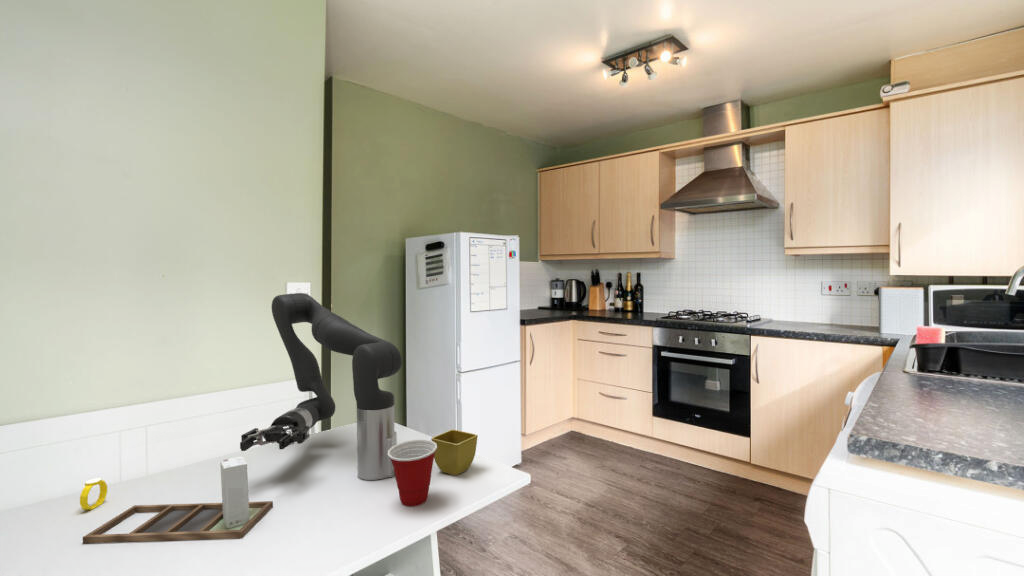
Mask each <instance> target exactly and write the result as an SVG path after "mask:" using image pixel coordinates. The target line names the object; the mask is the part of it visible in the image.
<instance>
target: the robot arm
mask: <svg viewBox="0 0 1024 576" xmlns="http://www.w3.org/2000/svg"><path fill="white" fill-rule="evenodd" d="M271 313H272V317H273V320H274V322H275V326H276V328H277V330H278V333H279V336H280V338H281V340H282V342H283V345H284V347H285V350H286V352H287V354H288V358H289V359H290V363H291V367H292V369H293V370H292V371H293V374H294V379H295V382H296V386H297V389H298V391H299V392H302V393H306V392H312V393H314V394H315V396H316V397H312V398H309V399H306V400H303V401H301V402H299V403H298V404H297V405H296V407H295V408H294V409H290V410H288V411H286V412H285V413H282V414H281V415H280V416H278V417H276V418H275V419H274V420H273V421H272V423H271V424H270V426H268V428H263V429H259V428H257V427H255V428H253V429H251V430H249V431H247V432H245V433H243V434H242V435H241V436H240V437H241V441H240V442H239V449H240V451H241V452H245V451H248V450H249V449H251V448H252V447H253V446H254V447H255V446H258V445H259V446H265V445H268V444H274V443H275V444H276V443H277V444H278V449H279V450H284V449H285V448H287V447H289V446H292V445H294V444H295V443H297V444H303V443H304V442H305V441H307V439H309V438H310V430H311V429H312V428H313V427H314V426H315V425H316V424H317V423H318V422H321V421H324V420H327V419H330V418H332V417H333V416H334V415H335V412H336V403H335V400H334V399H333V396H332V395H331V393H330V392H329V390H328V389H327V386H326V384H325V383H324V381H323V378H322V377H323V376H322V374H321V373H322V372H321V370H320V367H319V363H318V359H317V357H316V356H315V354H314V353H313V352H312V350H310V348H308V346H306V345H305V343H303V342H302V341H301V339H300V338H299V336H298V335H297V334H296V332H295V330H294V327H293V325H294V324H300V323H308V324H310V325H311V335H312V337H313V339H314V340H315V342H317V343H318V344H320V345H322V346H323V347H324V348H326V349H328V350H330V351H331V352H335V353H338V354H342V355H347V356H352V359H351V360H352V362H351V365H352V366H351V368H352V383H353V393H354V398H355V402H356V403H355V404H356V455H357V457H356V459H357V464H356V465H357V466H356V467H357V477H358V479H361V480H367V481H374V480H382V479H386V478H392V477H394V475H395V472H394V467H393V464H392V462H391V459H390V457H388V450H389V449H390V448H391V447H393V446H395V445H397V444H398V442H397V440H398V437H397V435H398V434H397V431H395V396H394V393H392V392H391V391H387V390H382V389H380V387H379V379H384V378H389V377H392V376H394V375H396V374H397V373H398V372H399V371H400V369H401V367H402V364H403V359H402V355H401V352H400V350H399V349H398V348H397V346H396V345H395V344H393V343H392V342H390V341H388V340H385V339H383V338H381V337H380V338H379V337H378V336H375V335H373V334H372V333H371V334H370V333H368V332H367V331H365V330H364V329H362V328H360V327H358V326H356V325H355V324H353V323H351V321H350V322H349V321H348V320H347V319H345V318H344V317H342V316H340V315H338V314H336V313H335V312H333V311H331V310H329V309H328V308H326V307H324V306H323V305H322V304H321V303H320V302H318V301H317V300H316V299H315V298H313V297H312V296H311V295H309V294H307V293H305V292H297V293H287V294H286V293H285V294H278V295H276V296H275V297H274V298H273V299H272V301H271ZM263 439H264V440H263Z"/></svg>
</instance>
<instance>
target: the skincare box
mask: <svg viewBox="0 0 1024 576" xmlns="http://www.w3.org/2000/svg"><path fill="white" fill-rule="evenodd" d="M219 464H220V485H221V503H222V505H223V519H224V522H225V526H226V528H227V529H228V528H233V527H237V526H241V525H244V524H246V523H247V522H248V521H249V520H250V518H249V502H250V500H249V497H250V496H249V479H248V478H249V477H248V463H247V462H246V459H245V458H244V457H243V456H242V455H241V456H236V457H231V458H227V459H223V460H220V463H219Z"/></svg>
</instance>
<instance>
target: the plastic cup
mask: <svg viewBox="0 0 1024 576" xmlns="http://www.w3.org/2000/svg"><path fill="white" fill-rule="evenodd" d="M436 449H437V444H436V443H435V442H433V441H432V440H429V439H426V438H425V439H423V438H422V439H412V440H406V441H402V442H399V443H397V445H395V446H393V447H391V448H390V449H389V450H388V457H390V459H391V462H392V464H393V467H394V477H395V482H396V486H397V489H398V495H399V500H400V503H401V505H403V506H406V507H417V506H421V505H423V504H424V503H426V502H427V500H428V497H429V490H430V485H431V478H432V471H433V465H434V462H435V459H434V455H435V451H436Z"/></svg>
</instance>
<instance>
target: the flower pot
mask: <svg viewBox="0 0 1024 576" xmlns="http://www.w3.org/2000/svg"><path fill="white" fill-rule="evenodd" d="M430 441H433V442H435V443H436V444H437V449H436V451H435V455H434V462H435V464H436V466H437V467H438V469H439V471H440V472H441V473H445V474H448V475H451V476H459V475H460V474H462V473H464V472H465V471H468V469H470V467H471V465H472V463H473V462H474V458H475V455H476V451H477V444H478V434H475V433H472V432H468V431H467V432H466V431H462V430H459V429H458V430H457V429H450V430H447V431H445V432H443V433H440V434H437V435H435V436H433V437H431V440H430Z"/></svg>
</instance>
